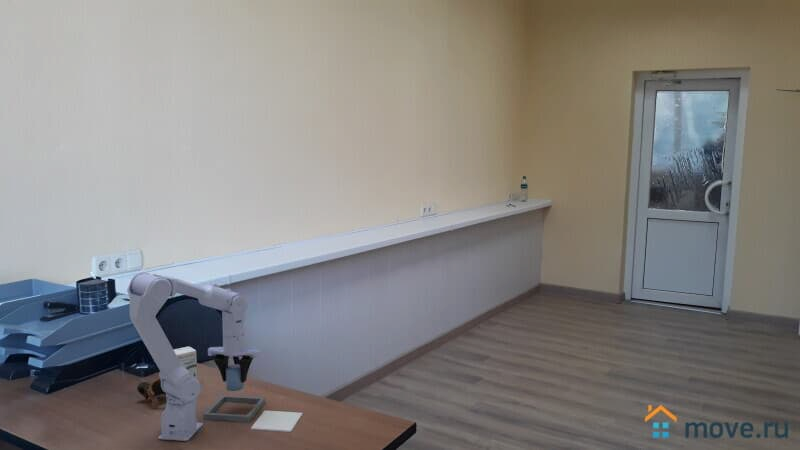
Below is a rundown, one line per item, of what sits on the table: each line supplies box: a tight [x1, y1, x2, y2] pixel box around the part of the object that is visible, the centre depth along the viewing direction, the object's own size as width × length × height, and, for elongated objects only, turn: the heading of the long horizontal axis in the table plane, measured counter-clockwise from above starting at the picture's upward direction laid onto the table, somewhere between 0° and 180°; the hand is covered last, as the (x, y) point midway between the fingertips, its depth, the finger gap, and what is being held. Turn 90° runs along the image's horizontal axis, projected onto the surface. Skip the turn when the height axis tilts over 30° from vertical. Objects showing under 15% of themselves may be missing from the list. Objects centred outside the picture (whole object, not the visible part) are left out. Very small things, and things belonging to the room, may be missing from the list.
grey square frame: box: [203, 394, 266, 423], centre depth 179 cm, size 13×13×2 cm
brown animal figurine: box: [136, 377, 167, 410], centre depth 184 cm, size 12×10×8 cm
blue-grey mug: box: [225, 363, 245, 392], centre depth 179 cm, size 7×5×6 cm
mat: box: [250, 410, 303, 433], centre depth 172 cm, size 11×11×1 cm
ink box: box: [173, 346, 198, 380], centre depth 195 cm, size 9×5×12 cm, turn 134°
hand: (234, 380), depth 178 cm, fingers closed on blue-grey mug, 5 cm apart
